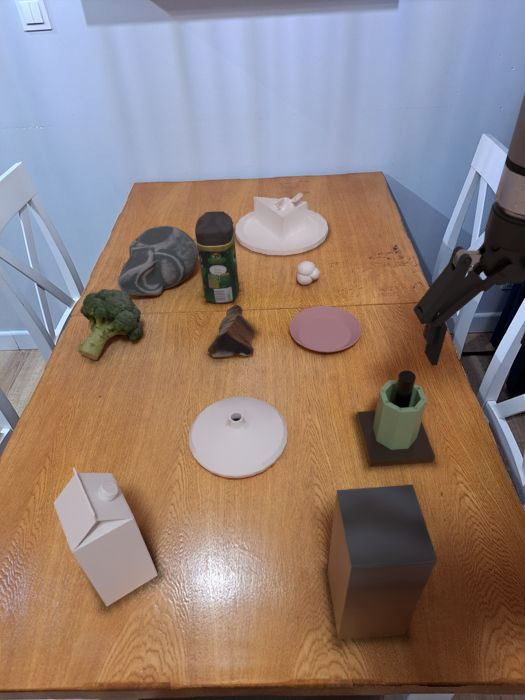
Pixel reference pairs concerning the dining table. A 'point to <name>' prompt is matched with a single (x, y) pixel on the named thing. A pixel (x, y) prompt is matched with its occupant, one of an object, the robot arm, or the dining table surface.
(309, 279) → the microfossil shell
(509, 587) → the dining table surface
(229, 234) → the coffee jar
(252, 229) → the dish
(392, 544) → the stand
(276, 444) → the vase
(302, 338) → the plate
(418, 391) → the green octagonal tube
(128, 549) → the milk carton
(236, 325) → the stone
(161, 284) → the grey swirled rock
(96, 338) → the vegetable
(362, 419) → the peg stand
